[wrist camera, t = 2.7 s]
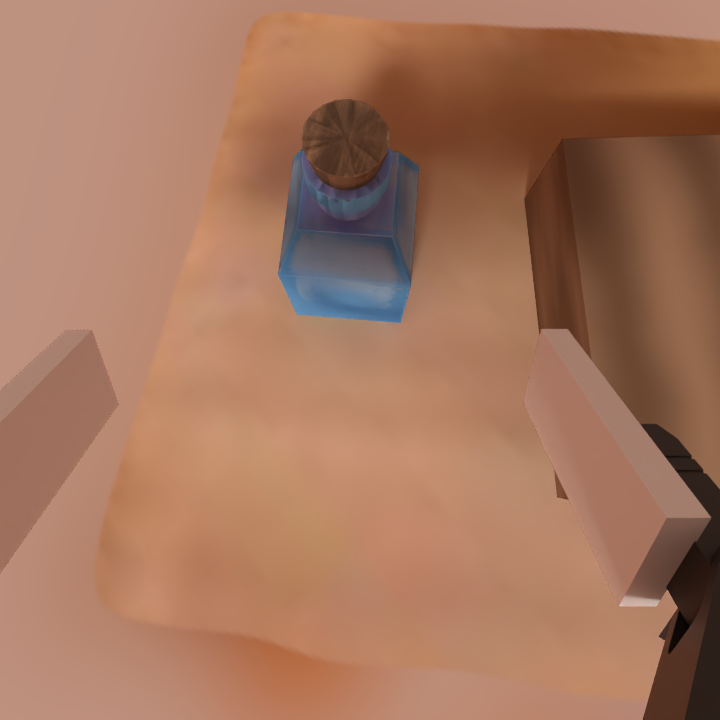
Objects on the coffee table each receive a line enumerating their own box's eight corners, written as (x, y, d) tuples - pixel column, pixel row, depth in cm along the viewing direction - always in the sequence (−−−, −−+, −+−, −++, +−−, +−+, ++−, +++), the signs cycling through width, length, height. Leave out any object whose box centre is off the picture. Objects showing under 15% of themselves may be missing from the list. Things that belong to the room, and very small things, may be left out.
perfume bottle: (308, 219, 29) (270, 58, 17) (407, 227, 29) (437, 69, 17) (296, 314, 28) (247, 210, 16) (400, 322, 28) (427, 224, 16)
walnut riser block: (774, 195, 29) (877, 129, 24) (841, 488, 26) (983, 498, 20) (522, 202, 29) (562, 138, 24) (554, 496, 26) (611, 508, 20)
